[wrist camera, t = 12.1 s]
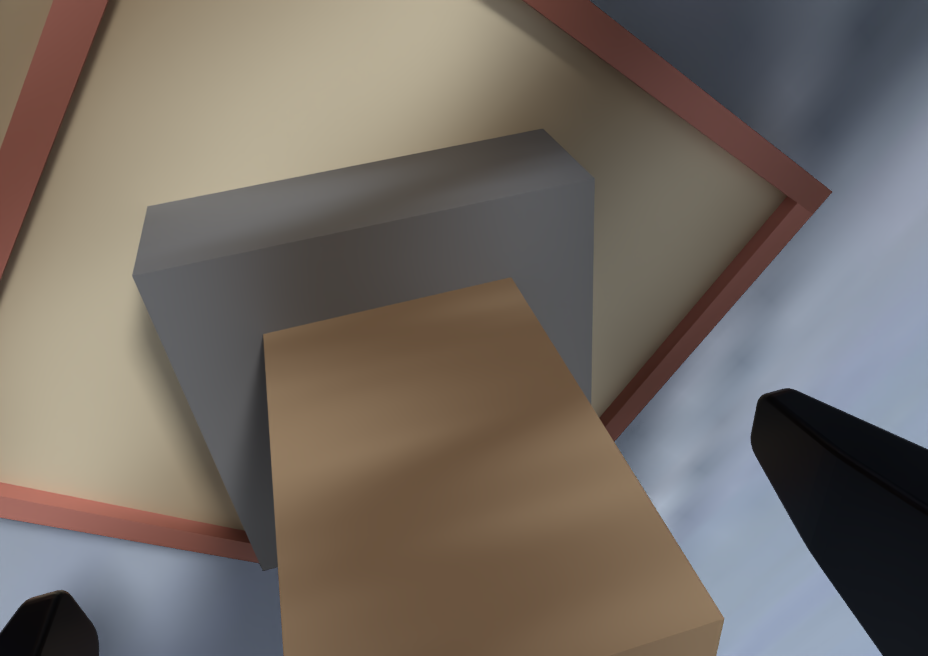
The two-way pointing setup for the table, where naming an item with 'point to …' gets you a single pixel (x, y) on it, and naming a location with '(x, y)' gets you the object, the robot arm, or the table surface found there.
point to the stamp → (420, 407)
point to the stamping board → (312, 151)
